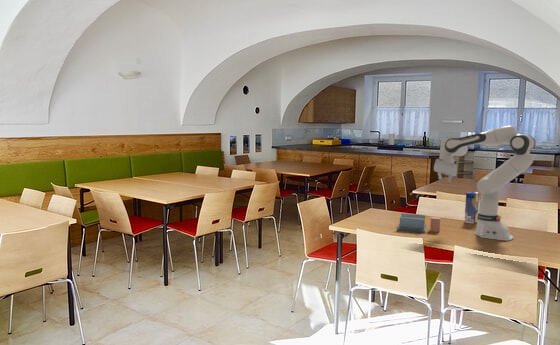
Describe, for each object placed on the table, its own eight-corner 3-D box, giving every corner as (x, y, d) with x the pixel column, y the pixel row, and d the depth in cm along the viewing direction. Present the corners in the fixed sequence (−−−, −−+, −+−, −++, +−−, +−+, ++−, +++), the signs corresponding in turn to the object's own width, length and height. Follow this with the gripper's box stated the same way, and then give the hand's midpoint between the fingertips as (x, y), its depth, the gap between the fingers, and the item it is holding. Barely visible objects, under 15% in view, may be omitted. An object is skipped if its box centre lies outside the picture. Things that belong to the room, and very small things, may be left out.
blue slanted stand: (425, 226, 305) (426, 214, 304) (425, 233, 286) (425, 220, 285) (399, 224, 311) (400, 212, 310) (397, 230, 292) (397, 218, 291)
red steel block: (439, 230, 294) (440, 217, 293) (439, 232, 290) (440, 219, 289) (430, 229, 296) (430, 216, 295) (430, 231, 292) (430, 218, 291)
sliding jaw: (424, 224, 303) (425, 215, 302) (424, 225, 301) (424, 215, 300) (401, 222, 309) (401, 213, 308) (400, 223, 306) (401, 213, 306)
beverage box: (477, 221, 325) (479, 192, 322) (474, 223, 316) (476, 194, 314) (467, 219, 329) (469, 191, 326) (464, 222, 320) (466, 193, 318)
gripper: (440, 157, 290) (438, 177, 288) (459, 163, 300) (457, 182, 298) (432, 158, 295) (430, 177, 293) (451, 164, 306) (449, 183, 304)
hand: (444, 180), depth 296 cm, fingers open, 8 cm apart
